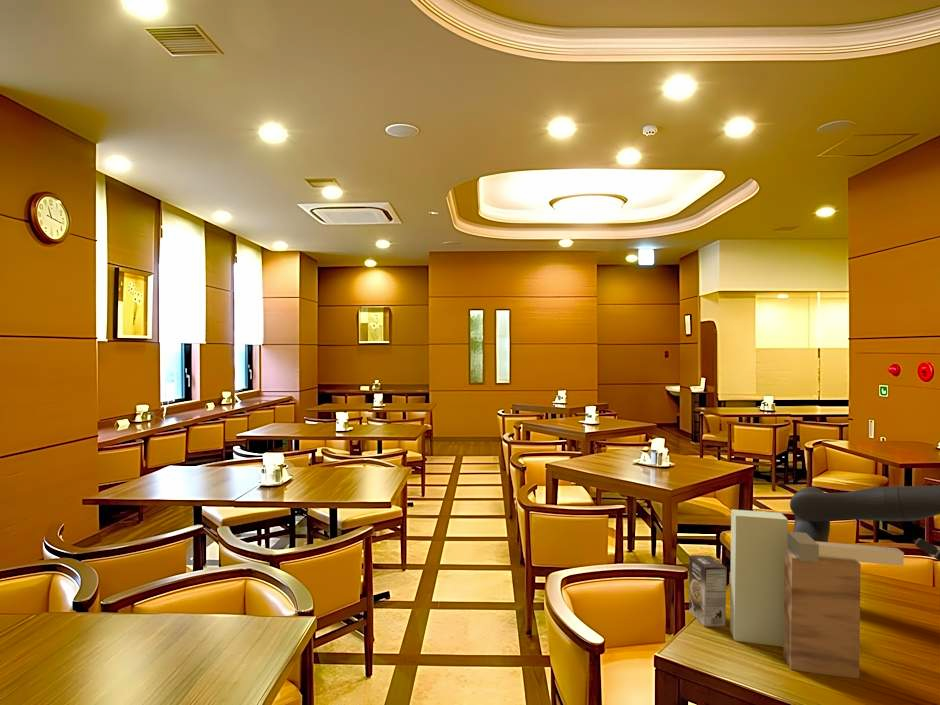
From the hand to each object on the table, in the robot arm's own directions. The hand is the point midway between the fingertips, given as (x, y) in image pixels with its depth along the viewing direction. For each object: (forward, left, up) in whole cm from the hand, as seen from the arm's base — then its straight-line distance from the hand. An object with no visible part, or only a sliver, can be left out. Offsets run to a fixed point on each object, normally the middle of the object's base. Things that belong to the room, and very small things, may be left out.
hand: (926, 547), depth 128 cm
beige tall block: (-11, -32, -30) cm, 45 cm away
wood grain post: (0, -21, -30) cm, 37 cm away
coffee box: (-19, -43, -30) cm, 56 cm away
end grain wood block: (0, -16, -4) cm, 17 cm away
